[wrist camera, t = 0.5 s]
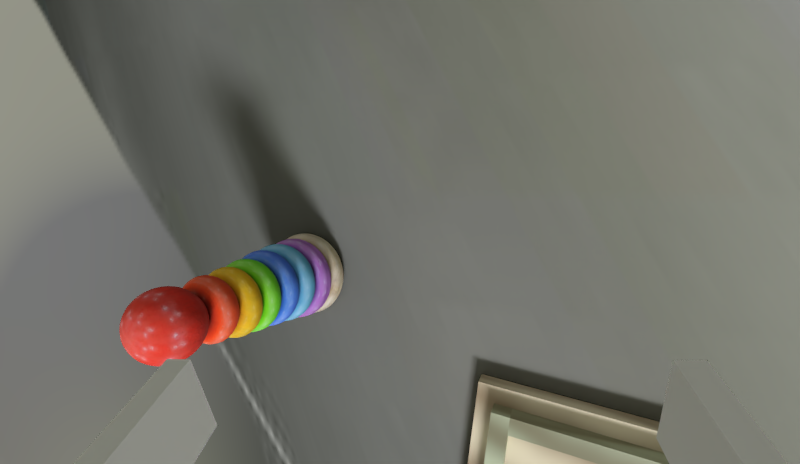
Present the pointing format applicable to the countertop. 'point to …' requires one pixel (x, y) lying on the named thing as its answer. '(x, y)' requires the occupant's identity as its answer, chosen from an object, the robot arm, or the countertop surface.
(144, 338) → the stacking toy
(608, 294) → the countertop surface
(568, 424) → the rimmed tray
